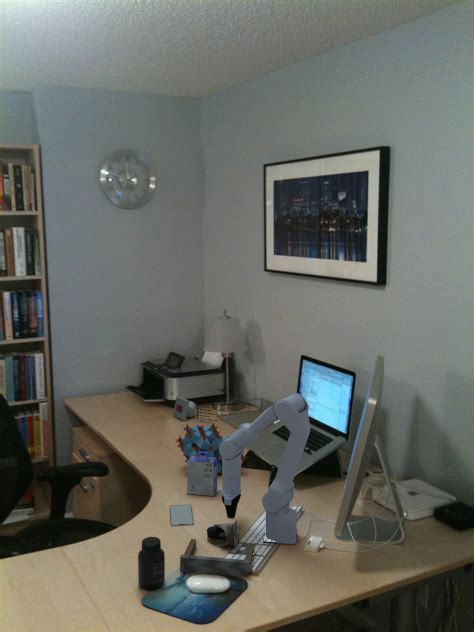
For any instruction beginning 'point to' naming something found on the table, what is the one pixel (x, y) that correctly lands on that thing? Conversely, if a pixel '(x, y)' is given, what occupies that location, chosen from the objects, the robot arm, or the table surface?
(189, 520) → the smartphone
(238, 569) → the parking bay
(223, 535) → the caster wheel
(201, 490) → the ink cartridge box
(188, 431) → the molecule model
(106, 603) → the table surface
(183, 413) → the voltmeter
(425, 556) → the table surface
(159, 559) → the supplement bottle
